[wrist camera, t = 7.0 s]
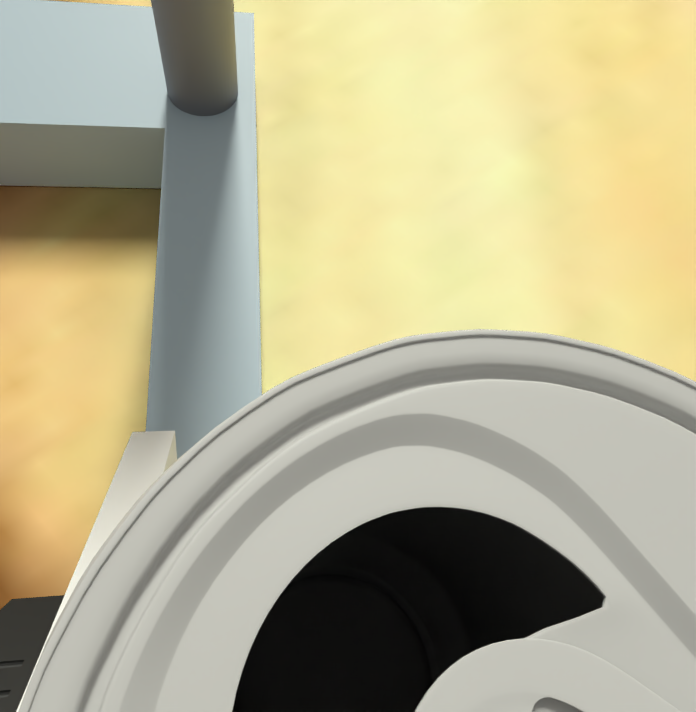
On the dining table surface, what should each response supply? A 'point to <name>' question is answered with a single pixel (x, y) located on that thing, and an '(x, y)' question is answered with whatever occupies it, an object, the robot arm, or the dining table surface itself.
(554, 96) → the dining table surface
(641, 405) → the beverage can
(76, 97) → the grey arch frame
